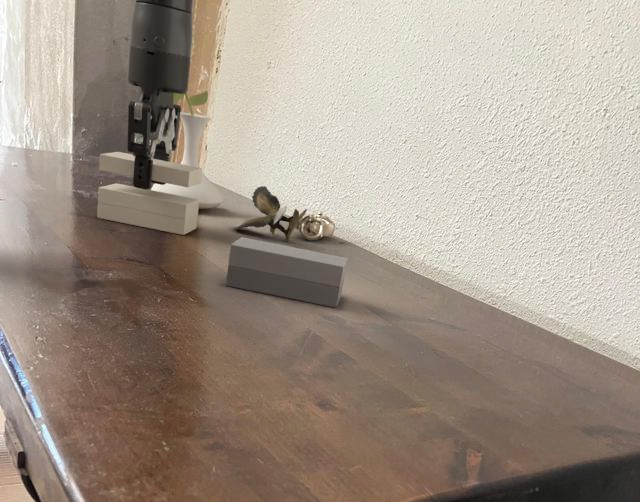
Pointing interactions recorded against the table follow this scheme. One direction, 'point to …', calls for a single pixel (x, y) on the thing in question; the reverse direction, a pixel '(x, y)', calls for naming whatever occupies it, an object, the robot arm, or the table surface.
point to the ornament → (315, 226)
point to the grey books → (286, 271)
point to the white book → (160, 169)
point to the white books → (147, 208)
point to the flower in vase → (193, 154)
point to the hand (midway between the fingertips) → (150, 185)
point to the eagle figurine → (271, 213)
